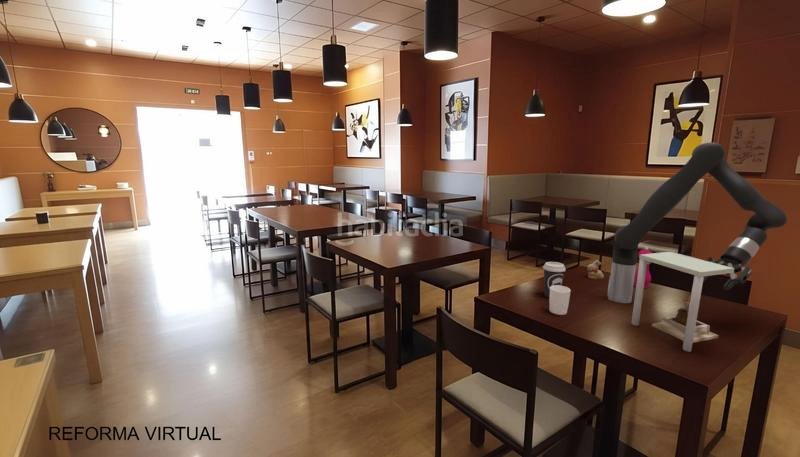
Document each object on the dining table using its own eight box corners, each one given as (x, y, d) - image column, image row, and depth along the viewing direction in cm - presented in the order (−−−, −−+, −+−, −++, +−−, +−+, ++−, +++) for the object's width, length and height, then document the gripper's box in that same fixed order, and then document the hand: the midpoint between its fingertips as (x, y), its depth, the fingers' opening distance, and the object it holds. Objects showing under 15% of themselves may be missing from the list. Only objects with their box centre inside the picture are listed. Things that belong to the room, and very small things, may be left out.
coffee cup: (564, 294, 177) (567, 263, 174) (560, 301, 169) (563, 268, 166) (543, 290, 182) (545, 260, 179) (538, 296, 174) (541, 265, 171)
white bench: (659, 318, 151) (669, 251, 146) (720, 345, 130) (735, 268, 125) (629, 323, 147) (638, 254, 142) (687, 352, 126) (701, 272, 120)
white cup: (566, 317, 152) (568, 293, 150) (546, 312, 156) (548, 289, 154) (569, 310, 159) (572, 287, 157) (549, 306, 163) (551, 284, 161)
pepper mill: (652, 289, 183) (658, 249, 179) (636, 288, 185) (641, 248, 181) (646, 284, 190) (651, 245, 186) (630, 283, 192) (635, 244, 188)
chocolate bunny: (587, 274, 205) (589, 256, 203) (603, 277, 201) (606, 259, 199) (586, 277, 200) (588, 259, 199) (602, 280, 196) (605, 261, 194)
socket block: (679, 321, 149) (681, 311, 148) (718, 337, 136) (720, 327, 135) (652, 326, 145) (653, 316, 144) (688, 343, 132) (690, 332, 131)
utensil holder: (671, 328, 141) (676, 297, 138) (677, 323, 144) (682, 293, 142) (690, 334, 136) (696, 302, 134) (696, 329, 140) (701, 298, 138)
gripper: (715, 241, 146) (688, 272, 145) (759, 250, 133) (729, 284, 132) (723, 253, 149) (696, 284, 148) (766, 263, 135) (738, 297, 134)
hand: (712, 284), depth 140 cm, fingers open, 8 cm apart
